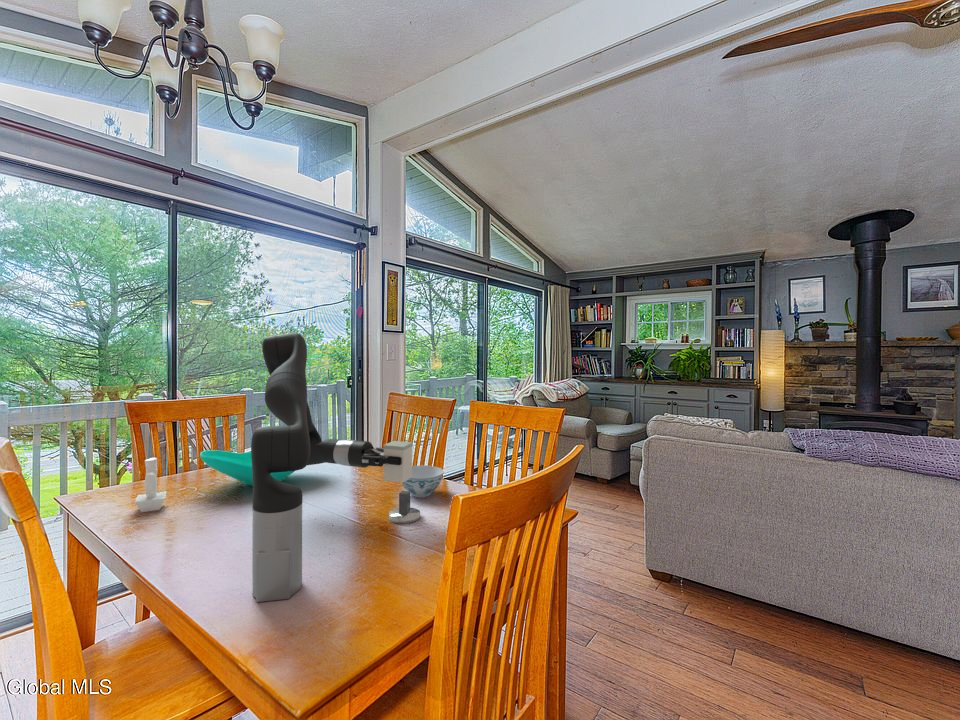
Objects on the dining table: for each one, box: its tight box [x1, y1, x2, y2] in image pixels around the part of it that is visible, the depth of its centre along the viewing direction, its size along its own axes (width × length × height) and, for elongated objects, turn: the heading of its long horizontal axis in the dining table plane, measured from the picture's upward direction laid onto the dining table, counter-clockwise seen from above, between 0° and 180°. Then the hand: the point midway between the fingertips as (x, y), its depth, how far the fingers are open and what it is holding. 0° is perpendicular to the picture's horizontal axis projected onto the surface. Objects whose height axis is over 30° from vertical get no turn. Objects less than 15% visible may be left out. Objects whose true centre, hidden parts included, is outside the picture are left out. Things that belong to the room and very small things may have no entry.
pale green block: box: [382, 440, 413, 484], centre depth 128 cm, size 6×6×10 cm
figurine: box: [134, 457, 168, 513], centre depth 134 cm, size 7×9×15 cm
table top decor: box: [199, 449, 295, 487], centre depth 160 cm, size 40×28×13 cm
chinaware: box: [401, 465, 445, 498], centre depth 151 cm, size 15×15×8 cm
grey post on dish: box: [388, 490, 421, 525], centre depth 130 cm, size 9×9×8 cm
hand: (406, 458), depth 128 cm, fingers closed on pale green block, 6 cm apart
